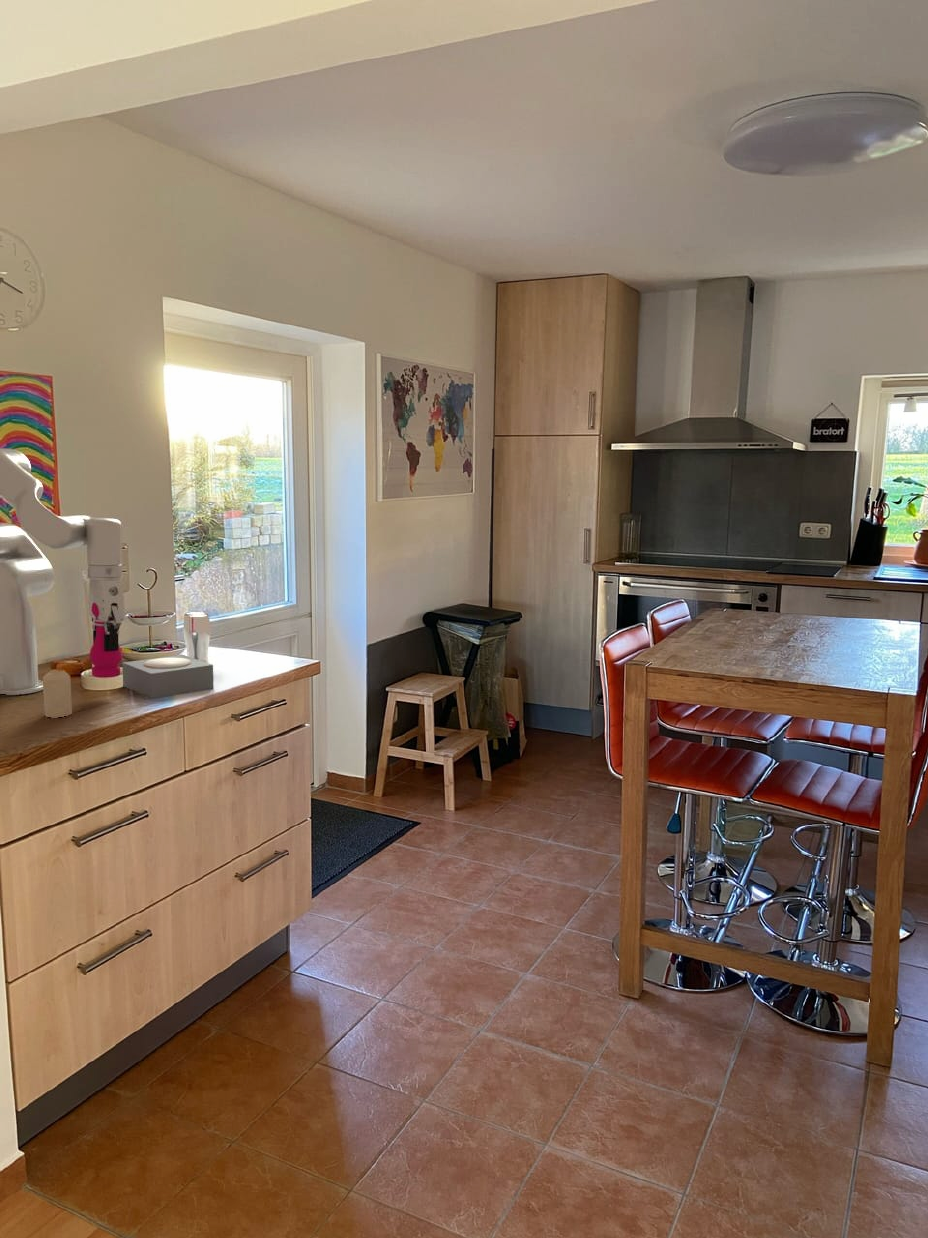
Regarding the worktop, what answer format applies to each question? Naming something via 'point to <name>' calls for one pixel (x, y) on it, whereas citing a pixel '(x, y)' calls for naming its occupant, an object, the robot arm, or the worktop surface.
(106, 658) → the pepper mill
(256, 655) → the worktop surface
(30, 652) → the robot arm
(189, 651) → the beer glass
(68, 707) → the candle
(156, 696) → the riser
